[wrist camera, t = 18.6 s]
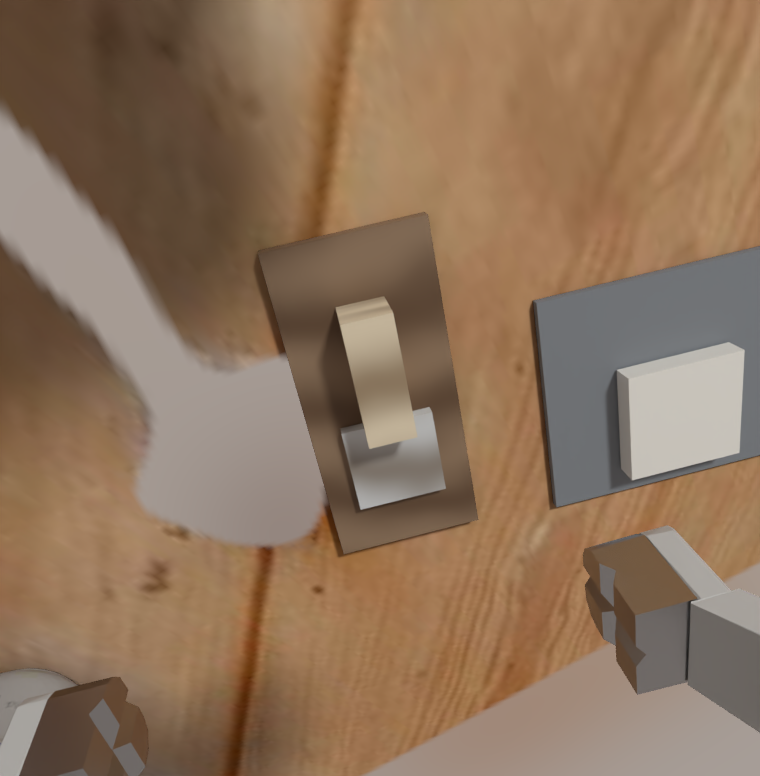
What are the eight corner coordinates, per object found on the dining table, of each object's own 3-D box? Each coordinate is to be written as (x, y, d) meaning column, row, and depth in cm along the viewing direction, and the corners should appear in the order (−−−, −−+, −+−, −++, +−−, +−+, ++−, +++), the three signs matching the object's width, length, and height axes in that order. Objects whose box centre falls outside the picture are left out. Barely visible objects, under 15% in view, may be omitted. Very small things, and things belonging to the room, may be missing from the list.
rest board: (258, 250, 36) (257, 254, 35) (424, 212, 37) (427, 214, 36) (342, 545, 45) (343, 554, 44) (474, 511, 46) (478, 519, 45)
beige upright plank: (310, 313, 37) (313, 331, 34) (408, 290, 37) (419, 306, 34) (359, 503, 43) (365, 534, 40) (443, 482, 43) (455, 511, 40)
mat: (533, 300, 40) (536, 303, 39) (796, 237, 41) (803, 238, 40) (553, 502, 46) (556, 507, 46) (779, 444, 47) (785, 448, 47)
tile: (628, 378, 40) (632, 480, 44) (744, 350, 41) (739, 452, 44) (615, 369, 42) (620, 467, 45) (727, 341, 42) (723, 441, 46)
